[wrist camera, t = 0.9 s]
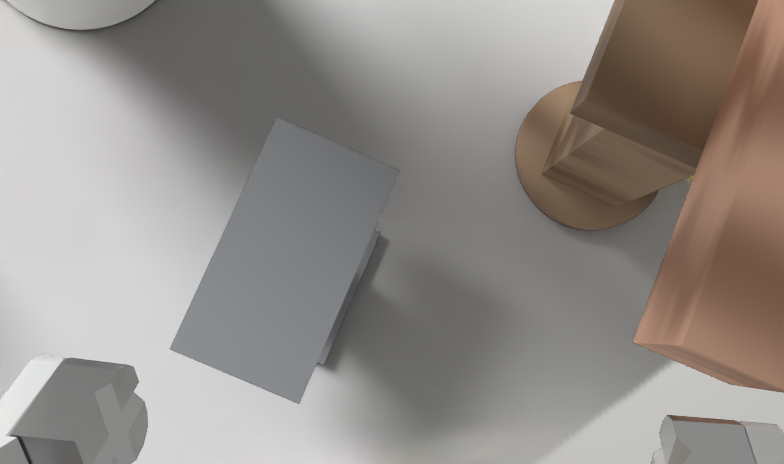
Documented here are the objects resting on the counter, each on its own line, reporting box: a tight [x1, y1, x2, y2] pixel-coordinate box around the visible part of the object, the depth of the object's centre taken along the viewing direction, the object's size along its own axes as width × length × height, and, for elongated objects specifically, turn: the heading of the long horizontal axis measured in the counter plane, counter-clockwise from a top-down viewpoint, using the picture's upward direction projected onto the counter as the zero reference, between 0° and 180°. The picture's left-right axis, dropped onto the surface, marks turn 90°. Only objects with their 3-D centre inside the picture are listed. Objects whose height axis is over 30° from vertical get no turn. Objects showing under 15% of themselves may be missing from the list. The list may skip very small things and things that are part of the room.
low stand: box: [170, 117, 400, 404], centre depth 46 cm, size 13×8×15 cm, turn 157°
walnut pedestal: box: [515, 0, 758, 230], centre depth 43 cm, size 14×14×26 cm
